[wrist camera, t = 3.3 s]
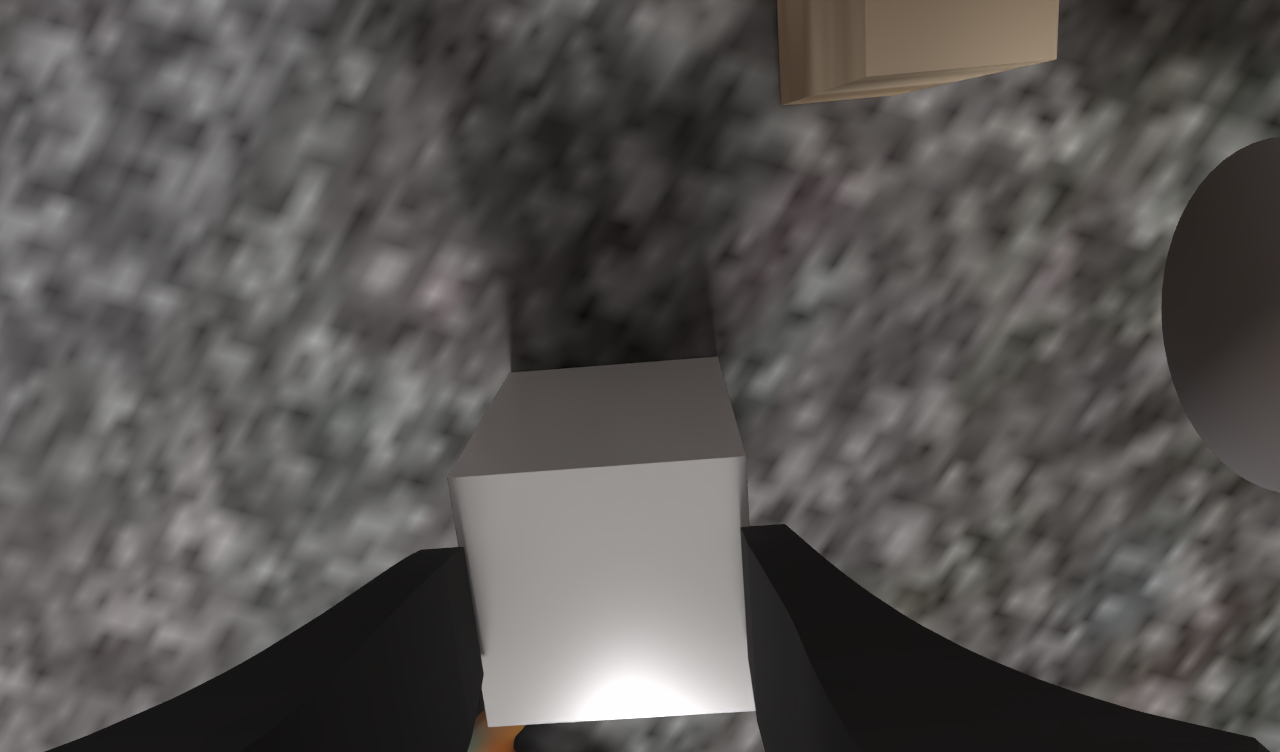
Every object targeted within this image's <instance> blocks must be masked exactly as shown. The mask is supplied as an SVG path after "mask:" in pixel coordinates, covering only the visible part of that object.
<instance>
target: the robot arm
mask: <svg viewBox="0 0 1280 752" xmlns="http://www.w3.org/2000/svg"><path fill="white" fill-rule="evenodd" d="M740 532H741V549H742V566H743V583H744V599H745V616H746V633H747V650H748V661H749V668H750V675H751V682H752V689H753V696H754V703H755V709H756V716H757V722H758V726H759V730H760V734H761V737H762V741H763V745H764V749H765V752H1270V751H1268V750H1267V749H1266V748H1265V747H1264V746H1263V745H1262V744H1261V743H1259V742H1258V741H1257V740H1256V739H1255V738H1253V737H1248V736H1244V735H1239V734H1235V733H1231V732H1226V731H1222V730H1218V729H1213V728H1209V727H1204V726H1200V725H1196V724H1191V723H1187V722H1183V721H1178V720H1174V719H1169V718H1165V717H1161V716H1156V715H1152V714H1147V713H1143V712H1140V711H1136V710H1132V709H1129V708H1126V707H1122V706H1119V705H1116V704H1112V703H1109V702H1106V701H1103V700H1099V699H1096V698H1093V697H1090V696H1086V695H1083V694H1080V693H1076V692H1073V691H1070V690H1068V689H1065V688H1062V687H1059V686H1056V685H1053V684H1050V683H1048V682H1045V681H1042V680H1039V679H1036V678H1034V677H1031V676H1029V675H1027V674H1024V673H1022V672H1019V671H1017V670H1014V669H1012V668H1009V667H1007V666H1004V665H1002V664H1000V663H997V662H995V661H992V660H990V659H987V658H985V657H983V656H981V655H979V654H977V653H974V652H972V651H970V650H968V649H966V648H964V647H962V646H960V645H958V644H956V643H954V642H952V641H950V640H948V639H946V638H944V637H942V636H941V635H939V634H937V633H935V632H933V631H931V630H929V629H927V628H925V627H923V626H922V625H920V624H918V623H917V622H915V621H913V620H911V619H910V618H908V617H906V616H905V615H903V614H901V613H900V612H898V611H897V610H895V609H894V608H892V607H891V606H889V605H888V604H886V603H885V602H883V601H882V600H880V599H879V598H877V597H876V596H874V595H873V594H871V593H870V592H868V591H867V590H866V589H864V588H863V587H861V586H860V585H859V584H857V583H856V582H854V581H853V580H852V579H850V578H849V577H848V576H846V575H845V574H844V573H843V572H841V571H840V570H839V569H837V568H836V567H835V566H834V565H832V564H831V563H830V562H829V561H828V560H826V559H825V558H824V557H823V556H821V555H820V554H819V553H818V552H817V551H816V550H814V549H813V548H812V547H811V546H810V545H809V544H807V543H806V542H805V541H804V540H803V539H802V538H800V537H799V536H798V535H797V534H796V533H795V532H794V531H792V530H791V529H790V528H789V527H788V526H787V525H785V524H779V525H765V526H751V527H740ZM483 677H484V672H483V666H482V659H481V653H480V647H479V640H478V634H477V628H476V621H475V615H474V608H473V602H472V596H471V589H470V583H469V576H468V570H467V564H466V557H465V551H464V547H454V548H440V549H426V550H420V551H418V552H416V553H414V554H412V555H410V556H408V557H406V558H405V559H403V560H402V561H400V562H398V563H397V564H395V565H394V566H392V567H391V568H389V569H388V570H386V571H385V572H383V573H382V574H380V575H379V576H377V577H376V578H374V579H373V580H371V581H370V582H369V583H367V584H366V585H364V586H363V587H361V588H360V589H358V590H357V591H355V592H354V593H352V594H351V595H349V596H348V597H346V598H345V599H344V600H342V601H341V602H339V603H338V604H336V605H335V606H333V607H332V608H330V609H329V610H327V611H326V612H324V613H323V614H321V615H320V616H318V617H317V618H315V619H313V620H312V621H310V622H309V623H307V624H305V625H304V626H302V627H301V628H299V629H297V630H296V631H294V632H293V633H291V634H289V635H288V636H286V637H285V638H283V639H281V640H280V641H278V642H277V643H275V644H273V645H272V646H270V647H269V648H267V649H265V650H264V651H262V652H260V653H259V654H257V655H255V656H253V657H252V658H250V659H248V660H246V661H245V662H243V663H241V664H239V665H237V666H236V667H234V668H232V669H230V670H228V671H226V672H225V673H223V674H221V675H219V676H217V677H215V678H213V679H211V680H209V681H207V682H205V683H203V684H201V685H199V686H197V687H195V688H193V689H191V690H189V691H187V692H185V693H183V694H181V695H179V696H177V697H175V698H173V699H171V700H169V701H166V702H164V703H162V704H159V705H157V706H155V707H152V708H150V709H148V710H146V711H143V712H141V713H139V714H136V715H134V716H132V717H129V718H127V719H125V720H122V721H120V722H118V723H116V724H113V725H111V726H109V727H106V728H104V729H102V730H99V731H97V732H95V733H92V734H90V735H88V736H85V737H83V738H80V739H77V740H75V741H72V742H70V743H67V744H64V745H61V746H59V747H56V748H53V749H51V750H48V751H45V752H467V751H468V748H469V745H470V742H471V739H472V734H473V729H474V724H475V719H476V715H477V710H478V704H479V699H480V693H481V688H482V682H483Z"/></svg>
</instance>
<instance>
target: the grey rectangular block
mask: <svg viewBox="0 0 1280 752" xmlns="http://www.w3.org/2000/svg"><path fill="white" fill-rule="evenodd" d="M447 480H448V486H449V492H450V498H451V504H452V510H453V517H454V523H455V529H456V535H457V541H458V547H464V551H465V557H466V564H467V570H468V576H469V583H470V589H471V596H472V602H473V608H474V615H475V621H476V628H477V634H478V640H479V647H480V653H481V659H482V666H483V672H484V677H483V682H482V693H483V699H484V705H485V711H486V717H487V723H488V727H498V726H514V725H530V724H547V723H563V722H579V721H596V720H612V719H629V718H645V717H661V716H678V715H694V714H710V713H727V712H743V711H756V709H755V703H754V696H753V689H752V682H751V675H750V668H749V661H748V650H747V633H746V616H745V599H744V583H743V566H742V549H741V532H740V527H750V525H749V506H748V487H747V468H746V455H745V451H744V448H743V444H742V441H741V437H740V434H739V430H738V427H737V423H736V419H735V416H734V412H733V409H732V405H731V402H730V398H729V395H728V391H727V388H726V384H725V381H724V377H723V373H722V370H721V366H720V363H719V359H718V357H705V358H692V359H680V360H667V361H654V362H641V363H628V364H616V365H603V366H590V367H577V368H564V369H552V370H539V371H526V372H513V373H509V374H508V376H507V378H506V379H505V381H504V383H503V385H502V386H501V388H500V390H499V391H498V393H497V395H496V396H495V398H494V400H493V401H492V403H491V405H490V407H489V408H488V410H487V412H486V413H485V415H484V417H483V418H482V420H481V422H480V423H479V425H478V427H477V429H476V430H475V432H474V434H473V435H472V437H471V439H470V440H469V442H468V444H467V445H466V447H465V449H464V451H463V452H462V454H461V456H460V457H459V459H458V461H457V462H456V464H455V466H454V467H453V469H452V471H451V473H450V474H449V476H448V478H447Z"/></svg>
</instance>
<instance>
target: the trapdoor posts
mask: <svg viewBox="0 0 1280 752" xmlns="http://www.w3.org/2000/svg"><path fill="white" fill-rule="evenodd" d="M1058 14H1059V0H777V15H778V40H779V66H780V91H781V106H782V105H793V104H804V103H815V102H826V101H837V100H848V99H859V98H870V97H881V96H892V95H898V94H903V93H907V92H912V91H916V90H921V89H925V88H930V87H934V86H939V85H943V84H948V83H952V82H957V81H961V80H966V79H970V78H975V77H979V76H984V75H989V74H993V73H998V72H1002V71H1007V70H1011V69H1016V68H1020V67H1025V66H1029V65H1034V64H1038V63H1043V62H1047V61H1052V60H1056V59H1057V37H1058Z"/></svg>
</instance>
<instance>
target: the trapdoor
mask: <svg viewBox="0 0 1280 752" xmlns="http://www.w3.org/2000/svg"><path fill="white" fill-rule="evenodd" d="M1162 330H1163V338H1164V346H1165V351H1166V357H1167V362H1168V366H1169V370H1170V373H1171V377H1172V380H1173V383H1174V386H1175V389H1176V391H1177V394H1178V397H1179V399H1180V402H1181V404H1182V406H1183V408H1184V410H1185V412H1186V414H1187V416H1188V418H1189V420H1190V421H1191V423H1192V425H1193V426H1194V428H1195V430H1196V431H1197V433H1198V434H1199V436H1200V437H1201V438H1202V440H1203V441H1204V442H1205V444H1206V445H1207V446H1208V448H1209V449H1210V450H1211V451H1212V452H1213V453H1214V454H1215V455H1216V456H1217V457H1218V458H1219V459H1220V460H1221V461H1222V462H1223V463H1224V464H1225V465H1227V466H1228V467H1229V468H1230V469H1231V470H1232V471H1234V472H1235V473H1237V474H1238V475H1240V476H1241V477H1243V478H1244V479H1246V480H1247V481H1249V482H1252V483H1254V484H1256V485H1258V486H1260V487H1262V488H1265V489H1269V490H1272V491H1276V492H1279V493H1280V137H1277V138H1269V139H1266V140H1262V141H1259V142H1256V143H1253V144H1251V145H1248V146H1246V147H1244V148H1242V149H1240V150H1238V151H1237V152H1235V153H1234V154H1232V155H1231V156H1229V157H1228V158H1226V159H1225V160H1224V161H1222V162H1221V163H1220V164H1219V165H1218V166H1217V167H1216V168H1215V169H1214V170H1213V171H1212V172H1210V174H1209V175H1208V176H1207V177H1206V178H1205V180H1204V181H1203V182H1202V183H1201V184H1200V185H1199V187H1198V188H1197V190H1196V191H1195V193H1194V194H1193V196H1192V197H1191V199H1190V200H1189V202H1188V204H1187V206H1186V208H1185V210H1184V212H1183V214H1182V216H1181V217H1180V220H1179V222H1178V225H1177V227H1176V230H1175V232H1174V235H1173V238H1172V242H1171V245H1170V248H1169V252H1168V256H1167V261H1166V266H1165V271H1164V279H1163V288H1162Z"/></svg>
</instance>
